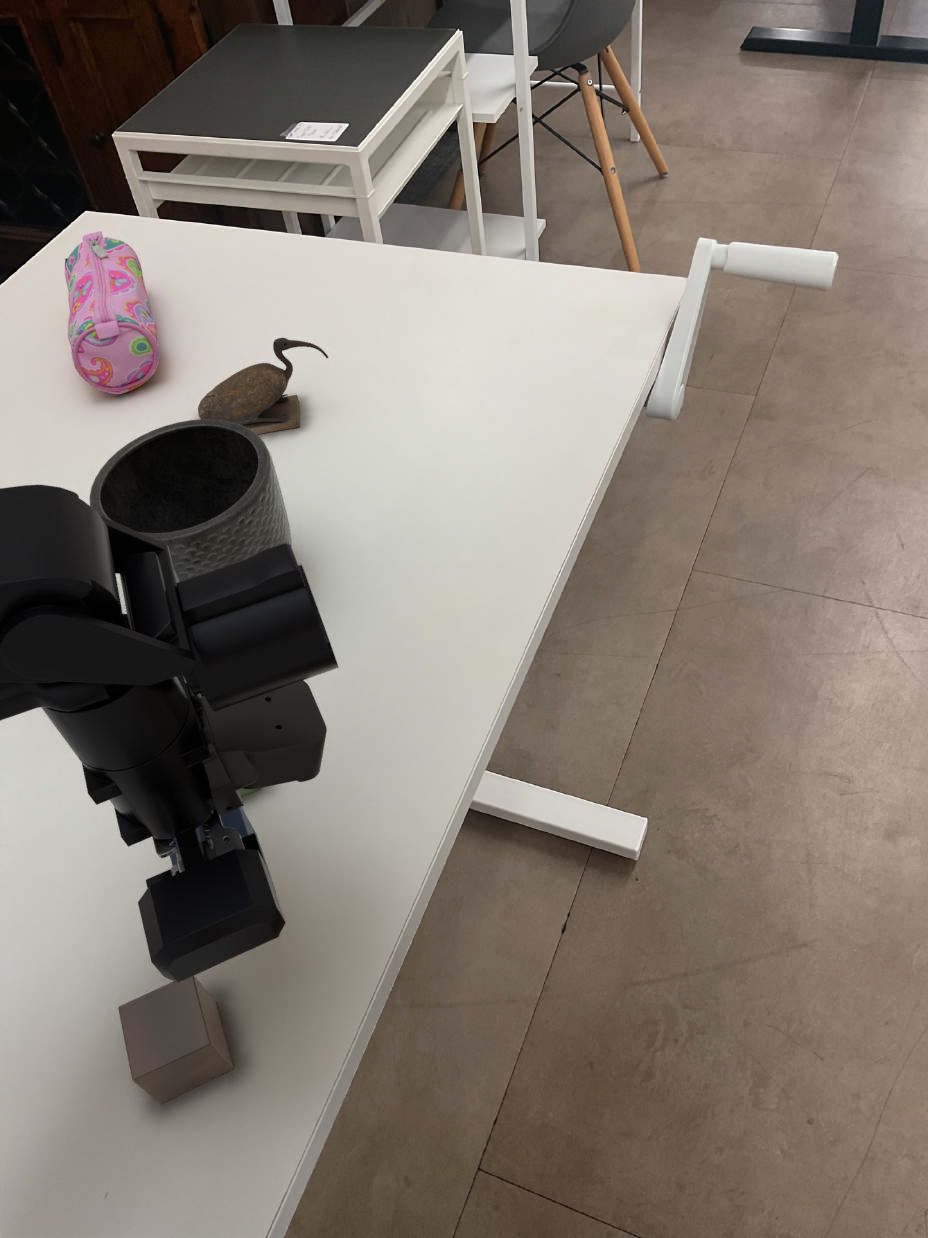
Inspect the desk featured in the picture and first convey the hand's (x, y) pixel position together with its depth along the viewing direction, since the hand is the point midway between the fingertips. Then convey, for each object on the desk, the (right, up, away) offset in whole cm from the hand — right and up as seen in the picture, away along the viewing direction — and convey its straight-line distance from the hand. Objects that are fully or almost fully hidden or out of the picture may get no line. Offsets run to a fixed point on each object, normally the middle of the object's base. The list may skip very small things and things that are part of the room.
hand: (225, 871), depth 60 cm
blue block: (0, -1, +1) cm, 1 cm away
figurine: (-5, +35, +41) cm, 54 cm away
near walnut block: (-2, -11, 0) cm, 11 cm away
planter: (-6, +17, +26) cm, 31 cm away
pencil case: (-24, +46, +53) cm, 74 cm away
